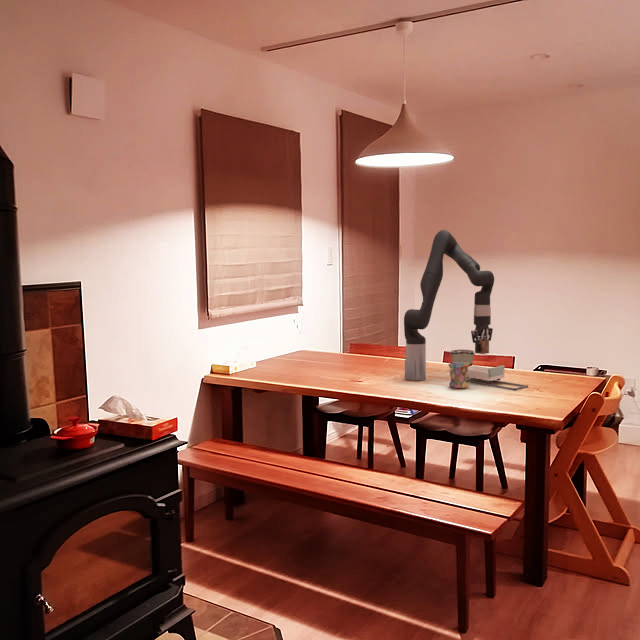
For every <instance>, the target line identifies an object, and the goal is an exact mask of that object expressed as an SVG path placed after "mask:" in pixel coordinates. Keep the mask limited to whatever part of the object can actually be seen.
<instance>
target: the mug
mask: <svg viewBox="0 0 640 640" xmlns="http://www.w3.org/2000/svg"><path fill="white" fill-rule="evenodd" d="M447 364H448V367H449V371H448V372H449V377H450V381H449V384H448V386H449V387H450V388H454V389H465V388H468V387H469V382H467V380H468V378H467V370H468V367H469V365H470V364H469V363H464V362H452V361H451V362H448V363H447Z"/></svg>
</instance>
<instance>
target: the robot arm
mask: <svg viewBox="0 0 640 640" xmlns="http://www.w3.org/2000/svg"><path fill="white" fill-rule="evenodd" d="M444 255H445V256H447V257H449V258H451V259H452V260H453V261H454V262H455V263H456V264H457V265H458V267H459V268H460V269H461V270H462V271H463V272H464V273H465V274H466V275H467V278H468V279H469V281H470V283H471V284H472V285H473V286H474V287H481V289H480V290H479V291H476V292H475V293H474V297H473V298H474V304H473V306H474V307H473V326H475V328H474V330H470V332H471V333H470V334H471V338H472V339H471V340H472V343H473V344H474V345H475V344H476V352H481V341H482V339H484V340H489V342H491V341H492V337H493V330H494V329H493V327H490V326H491V324H492V322H491V321H492V320H491V319H492V318H491V315H492V311H491V309H492V308H491V295H492V291H493V288H494V284H495V276H494V274H493V272H492V271H491V270H481V265H480V264H479V263H478V262H477V261H476V260H475V259H474V258H473V257H472V256H471V255H470V254H468V253H466V252H465V251H464V250H463V248H462V247H461V246H460V244H459V243H458V242H457V240H456V238H455V237H454V236H453V235H452V233H451V232H450V231H448V230H446V229H441V230H439V231H438V232H437V233H436V234H435V236H434V238H433V240H432V245H431V248H430V254H429V257H428V260H427V263H426V266H425V269H424V271H423V274H422V277H421V280H420V285H419V286H420V290H421V294H422V303H421V306H420V309H415V308H414V309H412V308H411V309H408V310H406V312H405V313H404V317H403V328H404V329H403V331H404V337H405V338H404V339H405V359H404V380H409V381H412V382H413V381H414V382H415V381H424V380H426V378H427V376H426V375H427V373H426V372H427V370H426V369H427V368H426V363H427V362H426V361H427V360H426V358H427V356H426V352H427V350H426V349H427V348H426V345H427V342H426V339H427V338H426V337H425V336H424V335H423V334H421V333H420V332H419V330H425V329H426V328H427V327H428V326H429V323H430V321H431V317H432V312H433V308H434V304H435V301H436V298H437V295H438V292H439V289H440V286H441V283H442V280H443V275H444V263H443V262H444Z"/></svg>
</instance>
